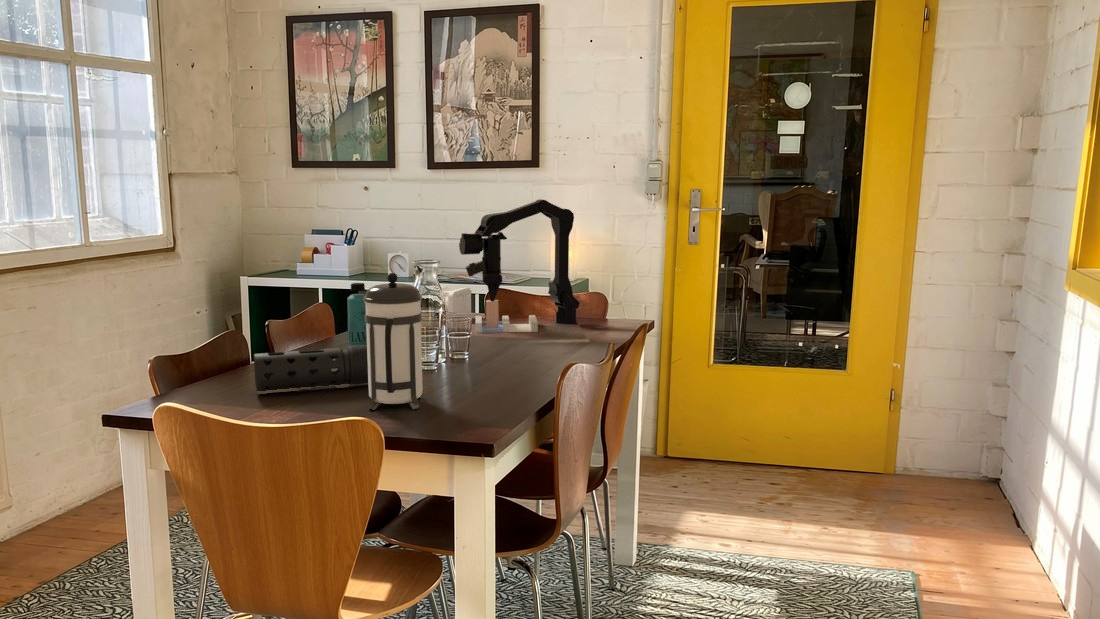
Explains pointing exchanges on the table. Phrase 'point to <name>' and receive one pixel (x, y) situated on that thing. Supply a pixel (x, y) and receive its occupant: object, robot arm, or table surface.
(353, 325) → the beverage bottle
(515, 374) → the table surface
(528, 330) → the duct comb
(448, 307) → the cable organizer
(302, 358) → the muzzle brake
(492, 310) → the pinkish tan block
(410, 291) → the coffee press
